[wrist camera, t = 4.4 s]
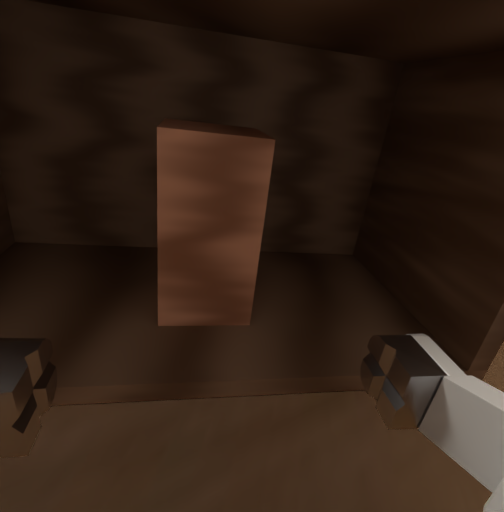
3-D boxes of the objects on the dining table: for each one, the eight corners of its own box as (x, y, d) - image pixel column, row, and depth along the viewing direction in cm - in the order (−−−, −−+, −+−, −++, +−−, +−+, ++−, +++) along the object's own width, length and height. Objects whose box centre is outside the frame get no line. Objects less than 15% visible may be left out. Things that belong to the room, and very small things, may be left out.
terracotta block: (157, 325, 18) (156, 127, 14) (164, 279, 22) (165, 118, 18) (249, 325, 19) (275, 139, 15) (238, 280, 23) (255, 128, 19)
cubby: (-195, 417, 12) (-737, -413, 5) (7, 247, 26) (-56, -43, 18) (479, 384, 18) (701, -18, 11) (356, 259, 31) (416, 43, 24)
